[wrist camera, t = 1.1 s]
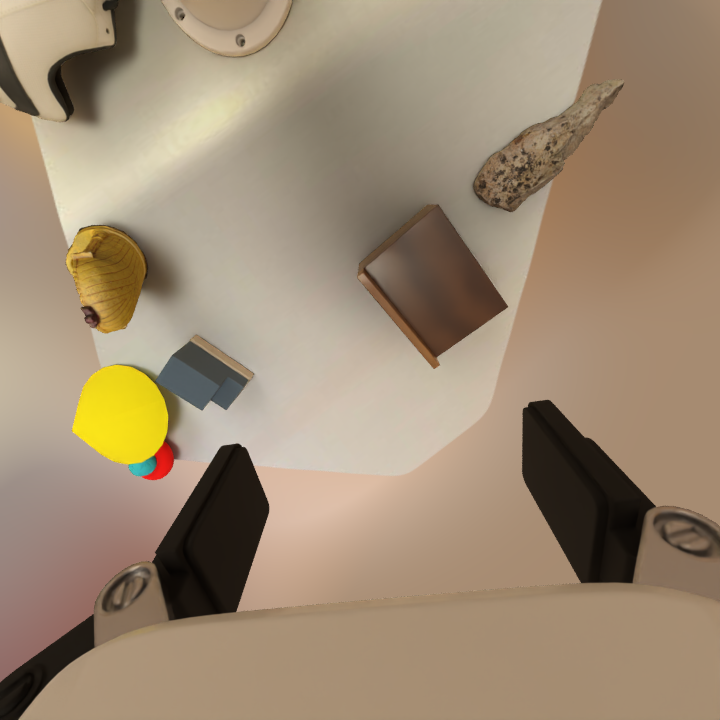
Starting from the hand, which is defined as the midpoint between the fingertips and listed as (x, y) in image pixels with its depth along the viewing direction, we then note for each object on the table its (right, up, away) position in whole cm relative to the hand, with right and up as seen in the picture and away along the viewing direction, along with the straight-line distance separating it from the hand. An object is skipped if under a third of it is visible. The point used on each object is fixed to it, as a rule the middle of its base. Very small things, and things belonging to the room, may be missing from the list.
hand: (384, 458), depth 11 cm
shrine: (-28, +15, +30) cm, 43 cm away
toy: (-33, -6, +41) cm, 53 cm away
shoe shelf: (+7, +13, +29) cm, 33 cm away
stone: (+19, +22, +21) cm, 36 cm away
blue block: (-21, +2, +35) cm, 41 cm away
